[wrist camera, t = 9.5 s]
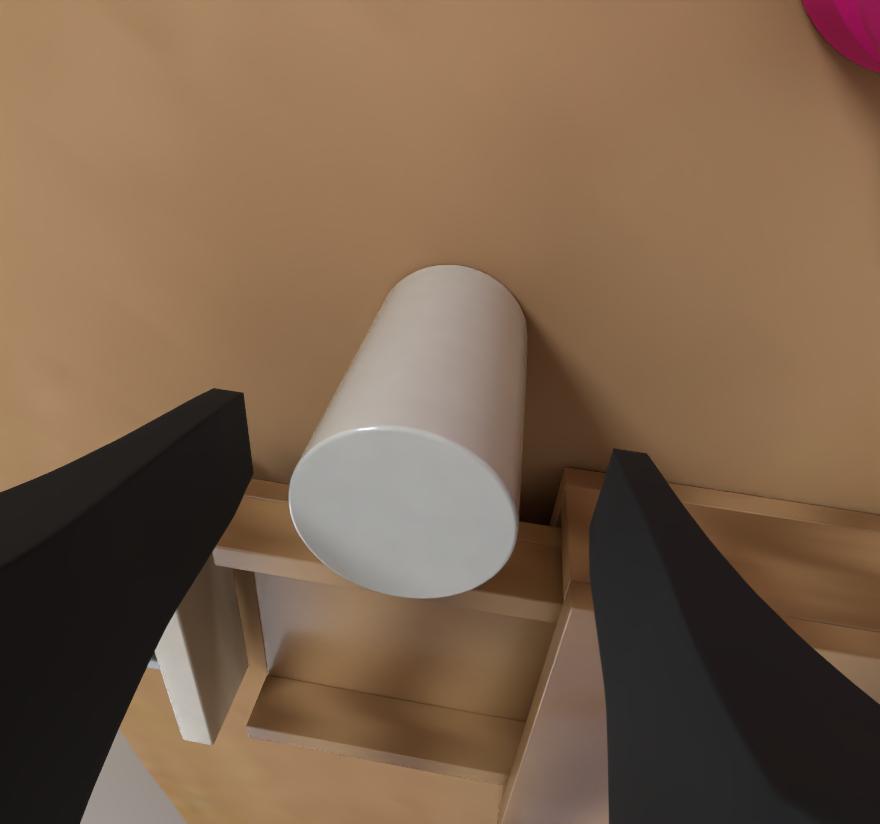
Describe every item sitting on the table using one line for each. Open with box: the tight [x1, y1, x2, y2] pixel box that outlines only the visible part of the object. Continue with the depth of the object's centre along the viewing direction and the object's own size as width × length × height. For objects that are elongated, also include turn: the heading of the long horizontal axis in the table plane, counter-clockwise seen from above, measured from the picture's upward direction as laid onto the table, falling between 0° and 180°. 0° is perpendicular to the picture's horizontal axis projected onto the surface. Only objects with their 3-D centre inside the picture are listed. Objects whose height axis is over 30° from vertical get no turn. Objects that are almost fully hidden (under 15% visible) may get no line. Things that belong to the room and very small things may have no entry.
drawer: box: [147, 479, 564, 786], centre depth 20 cm, size 18×11×3 cm, turn 86°
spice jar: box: [288, 265, 528, 599], centre depth 13 cm, size 4×4×7 cm
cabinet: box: [497, 467, 880, 824], centre depth 19 cm, size 15×13×5 cm
